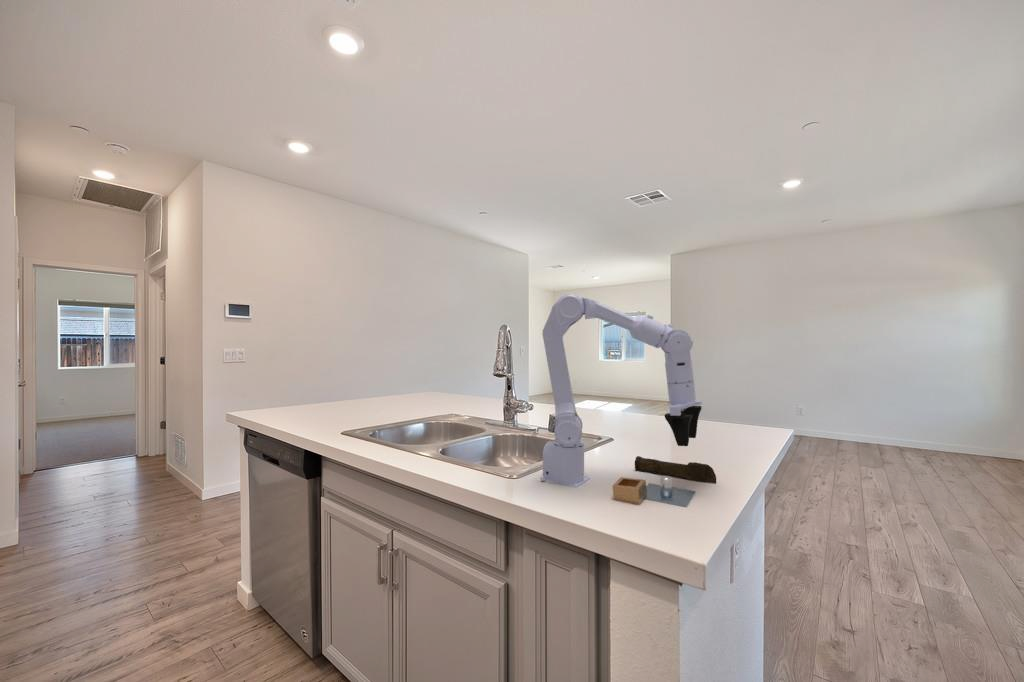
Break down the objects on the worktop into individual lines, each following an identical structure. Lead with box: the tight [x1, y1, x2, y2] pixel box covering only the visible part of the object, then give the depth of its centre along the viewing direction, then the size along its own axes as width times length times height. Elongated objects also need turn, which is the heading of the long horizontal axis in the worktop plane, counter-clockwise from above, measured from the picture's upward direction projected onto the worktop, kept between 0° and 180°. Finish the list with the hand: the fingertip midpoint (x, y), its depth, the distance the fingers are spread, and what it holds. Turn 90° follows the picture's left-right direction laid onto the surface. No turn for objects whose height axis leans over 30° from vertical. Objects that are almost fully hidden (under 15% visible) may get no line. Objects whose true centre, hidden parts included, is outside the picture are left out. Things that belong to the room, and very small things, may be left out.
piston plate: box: [643, 475, 696, 508], centre depth 92 cm, size 10×10×4 cm
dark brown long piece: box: [634, 455, 717, 484], centre depth 105 cm, size 19×4×5 cm, turn 51°
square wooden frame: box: [612, 476, 647, 505], centre depth 91 cm, size 5×5×3 cm
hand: (687, 441), depth 98 cm, fingers open, 7 cm apart
